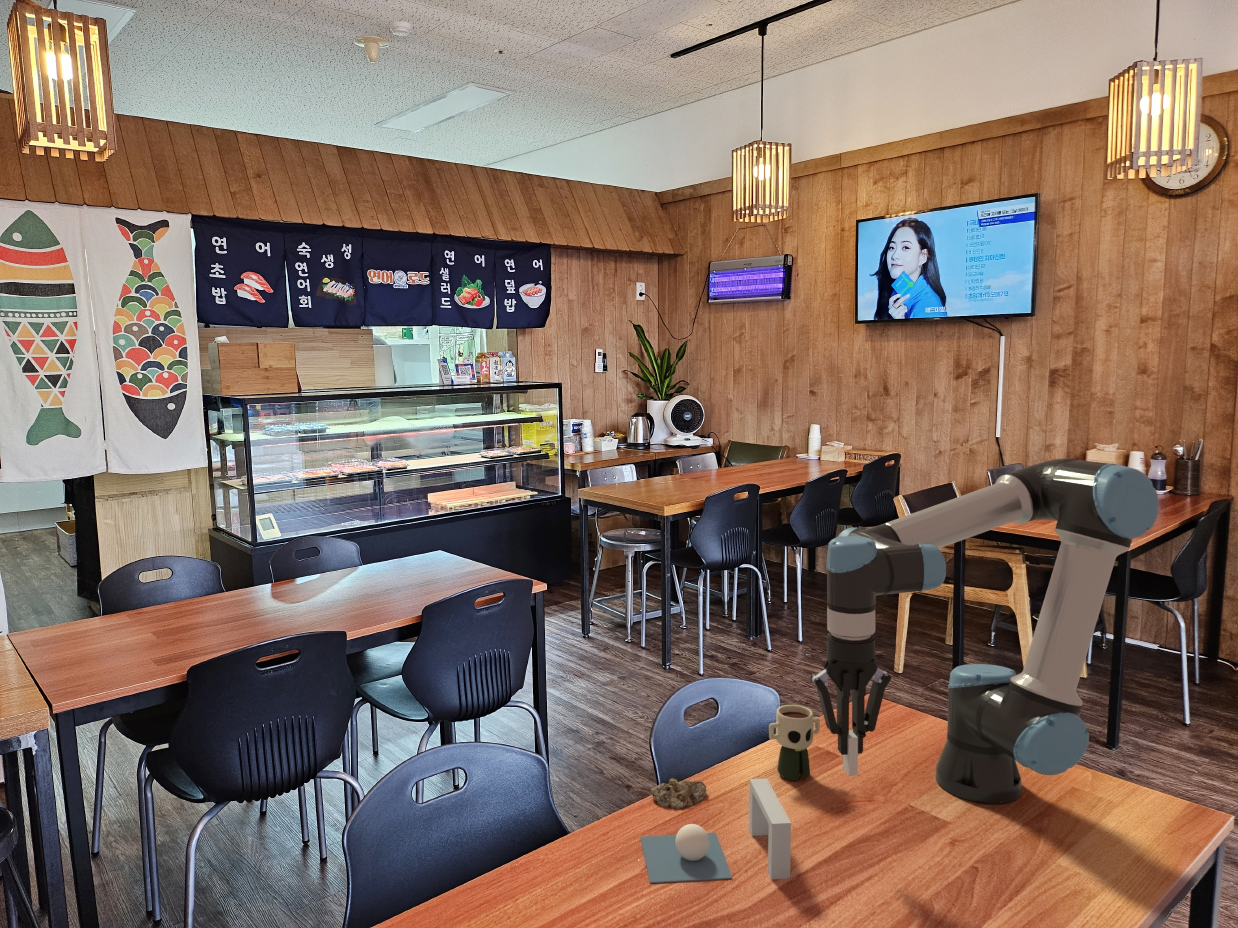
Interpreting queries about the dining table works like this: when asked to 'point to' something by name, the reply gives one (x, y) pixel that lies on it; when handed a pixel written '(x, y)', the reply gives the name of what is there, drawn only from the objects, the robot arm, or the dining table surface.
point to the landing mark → (682, 861)
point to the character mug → (794, 739)
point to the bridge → (770, 826)
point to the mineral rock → (679, 793)
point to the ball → (692, 842)
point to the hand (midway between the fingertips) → (850, 771)
